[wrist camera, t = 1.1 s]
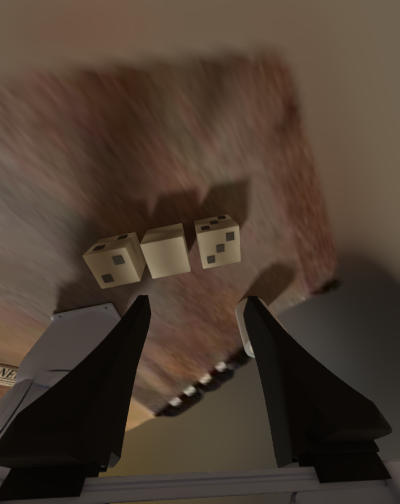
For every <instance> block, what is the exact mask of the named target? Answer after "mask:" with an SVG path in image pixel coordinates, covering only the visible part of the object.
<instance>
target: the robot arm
mask: <svg viewBox="0 0 400 504" xmlns="http://www.w3.org/2000/svg"><path fill="white" fill-rule="evenodd" d="M243 317H244V323H245V327H246V331H247V334H248V337H249V340H250V343H251V347H252V350H253V353H254V356H255V359H256V362H257V366H258V370H259V374H260V378H261V383H262V387H263V392H264V396H265V402H266V407H267V412H268V417H269V423H270V429H271V435H272V441H273V446H274V453H275V458H276V462H277V465H278V468H273V469H252V470H233V471H212V472H192V473H173V474H152V475H132V476H113V477H98V475H99V472H106V471H107V468H112V467H114V466H115V465H116V464H117V462H118V461H119V460H120V458H121V451H122V445H123V439H124V433H125V427H126V422H127V416H128V411H129V405H130V400H131V395H132V390H133V385H134V380H135V375H136V370H137V367H138V363H139V359H140V356H141V353H142V349H143V346H144V343H145V339H146V336H147V332H148V329H149V324H150V318H151V309H150V304H149V298H148V295H139V296H138V297H137V298H136V300H135V301H134V303H133V304H132V305H131V307H130V308H129V309H128V311H127V312H126V313H125V315H124V316H123V317H122V318H121V317H120V316H119V314H118V312H117V311H116V309H115V307H114V305H113V304H112V303H107V304H102V305H97V306H92V307H87V308H82V309H77V310H72V311H67V312H62V313H57V314H53V315H52V316H51V317H50V318H51V320H52V321H53V322H52V323H51V325H50V326H49V327H48V328H47V330H46V331H45V332H44V333H43V335H42V336H41V337H40V338H39V340H38V341H37V342H36V343H35V345H34V346H33V347H32V348H31V350H30V351H29V352H28V353H27V355H26V356H25V357H24V359H23V360H22V362H21V364H20V366H19V368H18V371H17V374H16V384H14V385H13V386H12V387H11V388H10V389H9V390H8V391H7V392H6V393H5V395H4V396H3V397H2V398H1V399H0V504H108V503H123V502H138V501H157V500H173V499H191V498H208V497H224V496H241V495H259V494H275V493H292V494H291V500H290V503H286V504H400V459H392V460H383V461H381V459H380V457H379V456H378V454H377V452H379V448H378V447H377V445H376V443H375V442H374V439H377V438H380V437H383V436H386V435H388V434H390V433H391V432H392V428H391V426H390V425H389V424H388V422H387V421H386V419H385V418H384V416H383V415H382V414H381V412H380V411H379V410H378V408H377V407H376V405H374V403H373V402H372V401H370V400H369V399H367V398H366V397H364V396H363V395H362V394H360V393H359V392H357V391H356V390H354V389H353V388H352V387H350V386H349V385H348V384H346V383H345V382H344V381H342V380H341V379H339V378H338V377H337V376H336V375H334V374H333V373H332V372H330V371H329V370H328V369H327V368H326V367H324V366H323V365H322V364H321V363H320V362H318V361H317V360H316V359H315V358H314V357H312V356H311V355H310V354H309V353H308V352H307V351H306V350H305V349H304V348H302V347H301V346H300V345H299V344H298V343H297V342H296V341H295V340H294V339H293V338H292V337H291V336H290V335H289V334H288V332H287V331H286V330H285V329H284V328H283V327H282V326H281V325H280V324H279V323H278V321H277V320H276V319H275V318H274V317H273V316H272V315H271V313H270V312H269V311H268V310H267V308H266V307H265V306H264V305H263V304H262V302H261V301H260V300H259V299H258V297H257V296H248V299H247V302H246V305H245V309H244V312H243Z"/></svg>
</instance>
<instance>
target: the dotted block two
mask: <svg viewBox="0 0 400 504" xmlns="http://www.w3.org/2000/svg"><path fill="white" fill-rule="evenodd" d="M82 257H83V258H84V260H85V262H86V263H87V265H88V267H89V268H90V270H91V272H92V273H93V275H94V277H95V278H96V280H97V282H98V283H99V285H100V287H101V288H102V289H104V288H109V287H114V286H119V285H124V284H129V283H134V282H139V281H140V280H141V277H142V274H143V271H144V268H145V265H146V259H145V257H144V254H143V251H142V249H141V246H140V242H139V240H138V237H137V234H136V232H133V233H128V234H122V235H117V236H112V237H107V238H101V239H99V240H98V241H97V242H96V243H95V244H94V245H93V246H92V247H91V248H90V249H89V250H88V251H87V252H86V253H85V254H84V255H83V256H82Z"/></svg>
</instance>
